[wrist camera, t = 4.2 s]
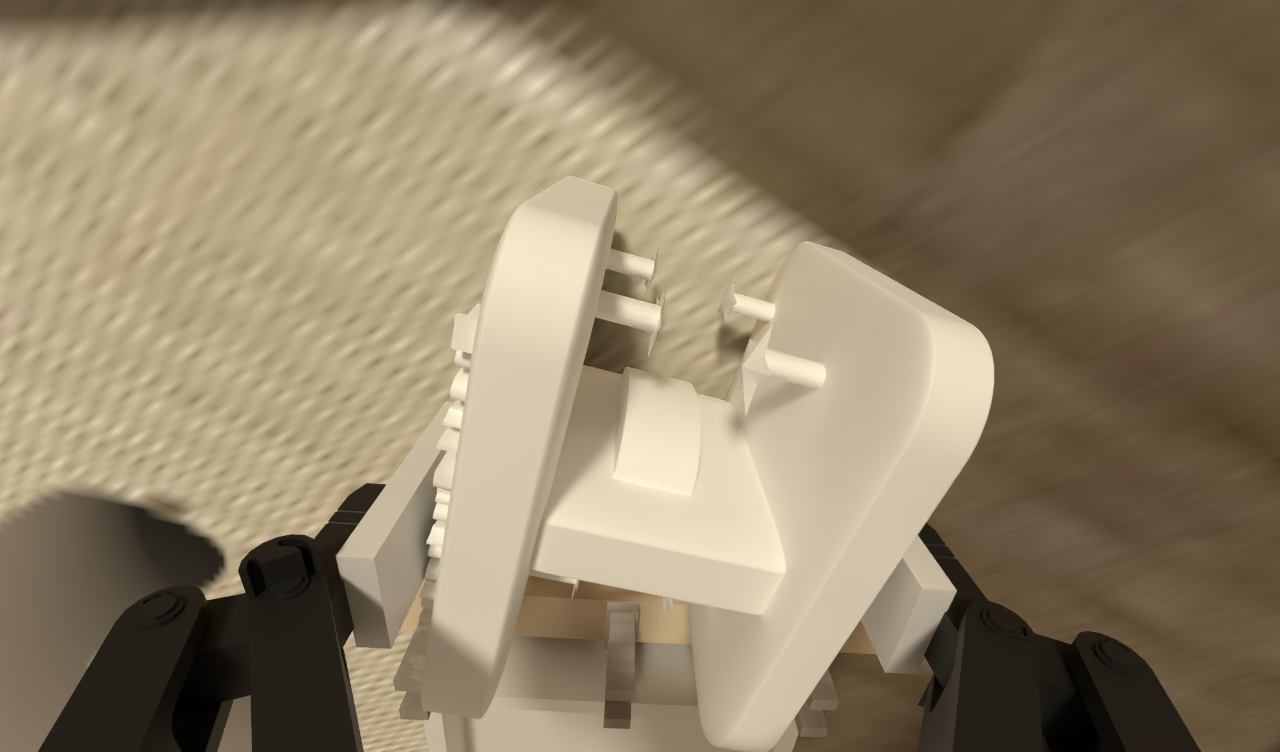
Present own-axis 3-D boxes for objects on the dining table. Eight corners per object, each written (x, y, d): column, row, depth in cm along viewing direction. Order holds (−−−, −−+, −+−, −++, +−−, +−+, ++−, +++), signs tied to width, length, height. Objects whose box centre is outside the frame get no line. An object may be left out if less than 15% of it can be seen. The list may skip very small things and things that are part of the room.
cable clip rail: (879, 592, 28) (938, 703, 22) (864, 629, 29) (917, 743, 24) (357, 562, 27) (285, 672, 21) (365, 603, 28) (300, 716, 22)
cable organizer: (702, 530, 26) (747, 802, 15) (494, 484, 24) (388, 747, 14) (827, 241, 20) (1049, 364, 9) (559, 160, 18) (455, 193, 8)
